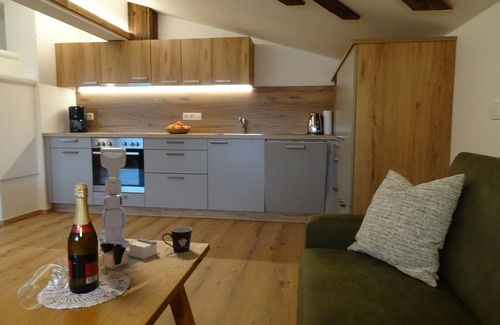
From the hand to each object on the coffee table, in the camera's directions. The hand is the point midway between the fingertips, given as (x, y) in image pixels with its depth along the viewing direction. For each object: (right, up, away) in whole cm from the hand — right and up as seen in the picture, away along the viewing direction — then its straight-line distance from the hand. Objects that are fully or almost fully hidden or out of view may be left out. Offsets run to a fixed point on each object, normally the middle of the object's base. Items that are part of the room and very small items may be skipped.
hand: (113, 262), depth 131 cm
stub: (+1, -1, +1) cm, 1 cm away
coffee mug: (+20, -1, +19) cm, 28 cm away
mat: (+4, -2, +8) cm, 9 cm away
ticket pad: (+7, 0, +12) cm, 14 cm away
